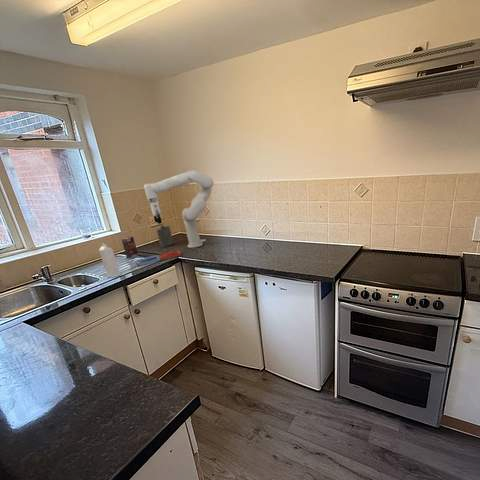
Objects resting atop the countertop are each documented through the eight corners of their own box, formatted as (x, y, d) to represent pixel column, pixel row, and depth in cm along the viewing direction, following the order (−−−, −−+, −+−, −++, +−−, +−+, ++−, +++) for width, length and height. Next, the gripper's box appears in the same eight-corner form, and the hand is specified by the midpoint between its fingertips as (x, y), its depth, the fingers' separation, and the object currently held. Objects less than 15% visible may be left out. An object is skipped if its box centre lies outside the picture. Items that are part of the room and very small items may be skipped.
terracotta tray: (177, 252, 237) (177, 250, 237) (181, 255, 228) (181, 252, 228) (158, 257, 230) (157, 254, 230) (161, 260, 221) (160, 258, 221)
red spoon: (177, 253, 234) (176, 251, 233) (178, 254, 230) (178, 252, 230) (161, 256, 229) (161, 254, 228) (163, 258, 225) (162, 255, 224)
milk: (116, 273, 204) (106, 242, 196) (120, 274, 200) (110, 243, 192) (107, 276, 199) (97, 244, 192) (111, 278, 196) (101, 245, 188)
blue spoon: (156, 258, 227) (155, 256, 226) (157, 259, 223) (157, 257, 222) (140, 262, 221) (139, 260, 221) (141, 263, 218) (140, 261, 217)
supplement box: (132, 258, 235) (126, 239, 229) (126, 259, 236) (120, 239, 230) (138, 255, 243) (133, 236, 237) (133, 255, 244) (128, 236, 238)
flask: (159, 247, 258) (154, 227, 252) (171, 243, 270) (166, 223, 264) (162, 247, 257) (157, 227, 250) (174, 243, 269) (169, 223, 262)
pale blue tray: (157, 257, 230) (156, 255, 229) (160, 260, 221) (159, 258, 220) (136, 262, 223) (135, 260, 222) (139, 266, 214) (138, 263, 213)
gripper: (160, 200, 222) (166, 223, 228) (155, 199, 236) (161, 220, 242) (150, 202, 218) (155, 225, 225) (145, 200, 232) (151, 222, 239)
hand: (158, 222), depth 233 cm, fingers open, 9 cm apart
